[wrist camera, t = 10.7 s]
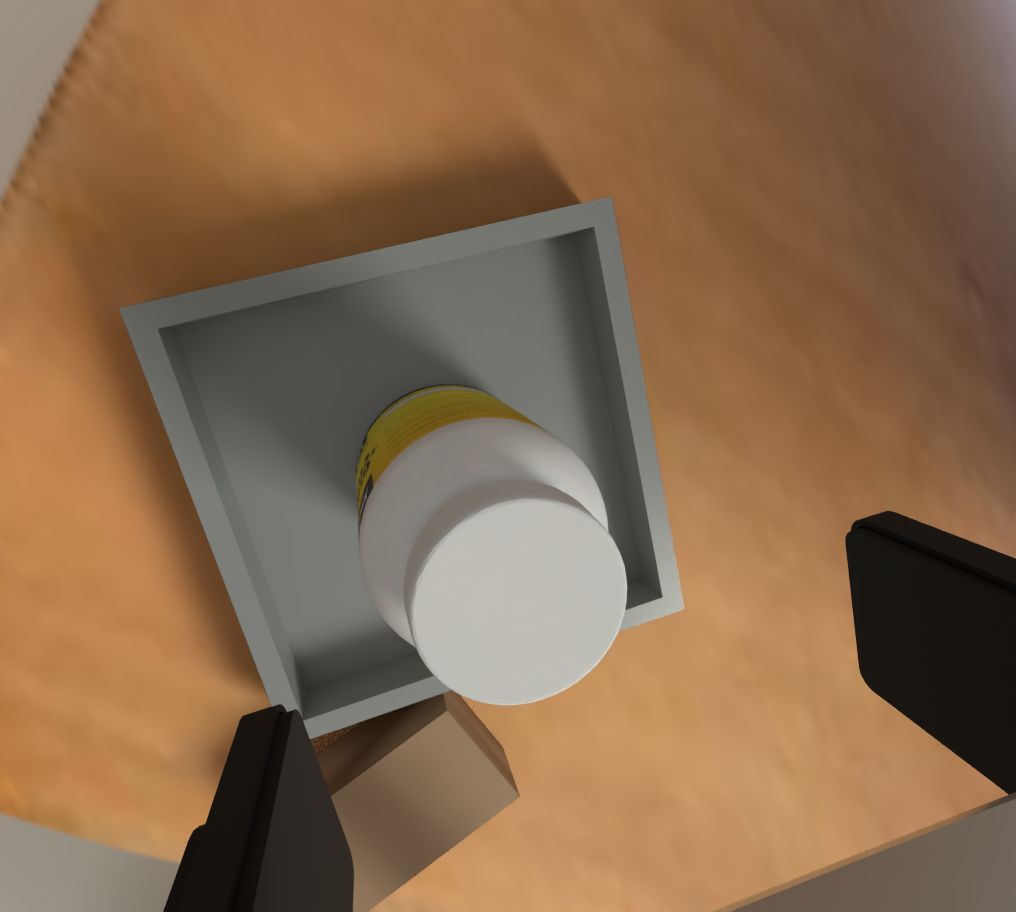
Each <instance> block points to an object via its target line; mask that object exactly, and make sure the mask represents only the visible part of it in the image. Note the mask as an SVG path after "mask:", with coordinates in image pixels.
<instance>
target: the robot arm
mask: <svg viewBox="0 0 1016 912" xmlns="http://www.w3.org/2000/svg"><path fill="white" fill-rule="evenodd" d="M846 552H847V561H848V570H849V579H850V588H851V598H852V607H853V616H854V625H855V634H856V643H857V652H858V661H859V669H860V673H861V675H862V678H863V679H864V681H865V683H866V684H867V685H868V687H869V688H870V689H871V690H872V691H873V692H875V693H876V694H877V695H879V696H880V697H881V698H883V699H884V700H885V701H887V702H888V703H889V704H891V705H892V706H893V707H895V708H896V709H897V710H898V711H900V712H901V713H902V714H904V715H905V716H906V717H908V718H909V719H910V720H912V721H913V722H914V723H916V724H917V725H918V726H920V727H921V728H922V729H923V730H925V731H926V732H927V733H929V734H930V735H931V736H933V737H934V738H935V739H937V740H938V741H939V742H941V743H942V744H943V745H945V746H946V747H947V748H948V749H950V750H951V751H952V752H954V753H955V754H956V755H958V756H959V757H960V758H962V759H963V760H964V761H966V762H967V763H968V764H970V765H971V766H972V767H974V768H975V769H976V770H977V771H979V772H980V773H981V774H983V775H984V776H985V777H987V778H988V779H989V780H991V781H992V782H993V783H995V784H996V785H997V786H999V787H1000V788H1001V789H1002V790H1004V791H1005V792H1006V793H1008V794H1009V795H1007V796H1005V797H1002V798H1000V799H997V800H995V801H992V802H989V803H987V804H984V805H982V806H979V807H976V808H974V809H971V810H969V811H966V812H964V813H961V814H958V815H956V816H953V817H951V818H948V819H946V820H943V821H940V822H938V823H935V824H933V825H930V826H928V827H925V828H923V829H920V830H918V831H915V832H912V833H910V834H907V835H905V836H902V837H900V838H897V839H895V840H892V841H890V842H887V843H885V844H882V845H879V846H877V847H874V848H872V849H869V850H867V851H864V852H862V853H859V854H857V855H854V856H852V857H849V858H846V859H844V860H841V861H839V862H836V863H834V864H831V865H829V866H826V867H824V868H821V869H819V870H816V871H814V872H811V873H809V874H806V875H804V876H801V877H799V878H796V879H793V880H791V881H788V882H786V883H783V884H781V885H778V886H776V887H773V888H771V889H768V890H766V891H763V892H761V893H758V894H756V895H753V896H751V897H748V898H746V899H743V900H741V901H738V902H736V903H733V904H731V905H728V906H725V907H723V908H720V909H718V910H715V911H713V912H1016V559H1015V558H1013V557H1010V556H1007V555H1005V554H1002V553H1000V552H997V551H994V550H992V549H989V548H986V547H984V546H981V545H979V544H976V543H973V542H971V541H968V540H966V539H963V538H960V537H958V536H955V535H953V534H950V533H947V532H945V531H942V530H940V529H937V528H934V527H932V526H929V525H927V524H924V523H921V522H919V521H916V520H913V519H911V518H908V517H906V516H903V515H900V514H898V513H895V512H892V511H885V512H882V513H879V514H875V515H872V516H869V517H866V518H863V519H860V520H857V521H855V522H854V523H853V525H852V528H851V531H850V532H849V533H848V534H847V535H846ZM353 895H354V866H353V860H352V855H351V851H350V848H349V845H348V842H347V839H346V837H345V834H344V831H343V828H342V826H341V823H340V820H339V818H338V815H337V812H336V809H335V807H334V804H333V801H332V798H331V796H330V793H329V790H328V787H327V785H326V782H325V779H324V776H323V774H322V771H321V768H320V766H319V763H318V760H317V757H316V755H315V752H314V749H313V746H312V744H311V741H310V738H309V735H308V733H307V730H306V727H305V725H304V722H303V719H302V717H301V714H300V713H299V711H298V710H297V709H295V710H291V711H288V712H287V711H286V709H285V707H284V706H283V705H281V704H278V705H275V706H272V707H269V708H266V709H263V710H260V711H256V712H253V713H250V714H247V715H244V716H242V718H241V719H240V722H239V725H238V728H237V731H236V734H235V737H234V740H233V743H232V746H231V749H230V752H229V755H228V758H227V761H226V764H225V767H224V770H223V773H222V776H221V779H220V782H219V785H218V788H217V791H216V794H215V797H214V800H213V803H212V806H211V809H210V812H209V815H208V818H207V821H206V824H204V825H201V826H199V827H198V828H196V829H195V830H194V831H193V833H192V835H191V836H190V838H189V841H188V843H187V846H186V849H185V852H184V855H183V857H182V860H181V863H180V866H179V869H178V872H177V874H176V877H175V880H174V883H173V886H172V889H171V891H170V894H169V897H168V900H167V903H166V905H165V908H164V911H163V912H353Z"/></svg>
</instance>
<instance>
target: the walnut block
mask: <svg viewBox="0 0 1016 912" xmlns="http://www.w3.org/2000/svg"><path fill="white" fill-rule="evenodd" d="M316 757H317V760H318V763H319V766H320V768H321V771H322V774H323V776H324V779H325V782H326V785H327V787H328V790H329V793H330V796H331V798H332V801H333V804H334V807H335V809H336V812H337V815H338V818H339V820H340V823H341V826H342V828H343V831H344V834H345V837H346V839H347V842H348V845H349V848H350V851H351V855H352V860H353V866H354V895H353V912H368V911H369V910H371V909H372V908H373V907H375V906H376V905H377V904H378V903H380V902H381V901H382V900H384V899H385V898H386V897H388V896H389V895H390V894H392V893H393V892H394V891H396V890H397V889H398V888H400V887H401V886H402V885H404V884H405V883H406V882H408V881H409V880H410V879H412V878H413V877H414V876H416V875H417V874H418V873H419V872H421V871H422V870H423V869H425V868H426V867H427V866H429V865H430V864H431V863H433V862H434V861H435V860H437V859H438V858H439V857H441V856H442V855H443V854H445V853H446V852H447V851H449V850H450V849H451V848H453V847H454V846H455V845H456V844H458V843H459V842H460V841H462V840H463V839H464V838H466V837H467V836H468V835H470V834H471V833H472V832H474V831H475V830H476V829H478V828H479V827H480V826H482V825H483V824H484V823H486V822H487V821H488V820H490V819H491V818H492V817H494V816H495V815H496V814H497V813H499V812H500V811H501V810H503V809H504V808H505V807H507V806H508V805H509V804H511V803H512V802H513V801H515V800H516V799H517V798H519V797H520V795H519V792H518V790H517V787H516V784H515V781H514V778H513V775H512V772H511V770H510V767H509V764H508V761H507V758H506V755H505V752H504V749H503V747H502V746H501V745H500V743H499V742H498V741H497V740H496V739H495V737H494V736H493V735H492V734H491V733H490V731H489V730H488V729H487V728H486V727H485V725H484V724H483V723H482V722H481V720H480V719H479V718H478V717H477V716H476V714H475V713H474V712H473V711H472V710H471V708H470V707H469V706H468V705H467V704H466V702H465V701H464V700H463V699H462V698H461V696H460V695H459V694H458V693H456V692H454V691H453V690H451V691H448V692H445V693H442V694H439V695H436V696H433V697H430V698H428V699H425V700H422V701H419V702H416V703H413V704H410V705H407V706H405V707H402V708H399V709H396V710H393V711H390V712H387V713H384V714H382V715H379V716H376V717H373V718H370V719H367V720H365V721H364V722H362V723H361V724H359V725H358V726H357V727H355V728H354V729H353V730H351V731H350V732H349V733H347V734H346V735H344V736H343V737H342V738H340V739H339V740H338V741H336V742H335V743H334V744H332V745H331V746H329V747H328V748H327V749H325V750H324V751H323V752H321V753H320V754H319V755H317V756H316Z"/></svg>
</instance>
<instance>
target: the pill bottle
mask: <svg viewBox="0 0 1016 912" xmlns="http://www.w3.org/2000/svg"><path fill="white" fill-rule="evenodd" d="M356 489H357V508H358V540H359V555H360V564H361V570H362V574H363V578H364V581H365V585H366V587H367V590H368V593H369V595H370V597H371V599H372V601H373V603H374V605H375V607H376V608H377V610H378V612H379V613H380V615H381V616H382V617H383V619H384V620H385V621H386V622H387V624H388V625H389V626H390V627H391V628H392V629H393V630H394V631H395V632H396V633H397V634H398V635H399V636H400V637H402V638H403V639H404V640H406V641H407V642H408V643H410V644H411V645H413V646H414V647H416V650H417V652H418V654H419V656H420V657H421V659H422V660H423V662H424V663H425V665H426V667H427V668H428V669H429V670H430V671H431V673H432V674H433V675H434V676H435V677H436V678H437V679H438V680H439V681H440V682H441V683H443V684H444V685H445V686H447V687H448V688H450V689H451V690H453V691H454V692H456V693H458V694H460V695H462V696H464V697H467V698H469V699H472V700H475V701H479V702H483V703H488V704H495V705H519V704H525V703H532V702H536V701H539V700H542V699H545V698H548V697H550V696H553V695H556V694H558V693H560V692H561V691H563V690H565V689H567V688H569V687H570V686H572V685H573V684H575V683H577V682H578V681H579V680H581V679H582V678H583V677H584V676H585V675H586V674H588V673H589V672H590V671H591V670H592V669H593V668H594V667H595V666H596V665H597V664H598V663H599V661H600V660H601V659H602V658H603V657H604V655H605V654H606V652H607V651H608V649H609V648H610V646H611V645H612V643H613V641H614V639H615V637H616V635H617V633H618V631H619V628H620V626H621V623H622V619H623V617H624V612H625V607H626V601H627V580H626V573H625V567H624V563H623V560H622V557H621V554H620V552H619V550H618V548H617V546H616V544H615V542H614V540H613V538H612V537H611V535H610V534H609V533H608V520H607V514H606V509H605V505H604V501H603V498H602V495H601V492H600V490H599V488H598V486H597V483H596V481H595V479H594V478H593V476H592V474H591V473H590V471H589V469H588V468H587V467H586V465H585V464H584V463H583V461H582V460H581V459H580V458H579V457H578V456H577V455H576V454H575V452H573V451H572V450H571V449H570V448H569V447H568V446H567V445H566V444H564V443H563V442H562V441H561V440H559V439H558V438H557V437H555V436H554V435H552V434H551V433H549V432H548V431H546V430H545V429H543V428H542V427H540V426H539V425H538V424H536V423H535V422H533V421H532V420H530V419H529V418H527V417H526V416H524V415H523V414H521V413H520V412H518V411H516V410H515V409H513V408H512V407H510V406H508V405H507V404H505V403H504V402H502V401H501V400H499V399H497V398H496V397H494V396H493V395H491V394H489V393H487V392H484V391H482V390H480V389H477V388H474V387H470V386H466V385H460V384H436V385H429V386H425V387H421V388H418V389H415V390H413V391H411V392H408V393H406V394H404V395H403V396H401V397H399V398H398V399H396V400H395V401H393V402H392V403H391V404H389V405H388V406H387V407H386V408H385V409H384V410H383V411H382V412H381V413H380V414H379V415H378V416H377V417H376V419H375V420H374V421H373V422H372V424H371V426H370V427H369V429H368V431H367V433H366V434H365V437H364V439H363V442H362V444H361V447H360V450H359V453H358V457H357V464H356Z"/></svg>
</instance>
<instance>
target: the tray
mask: <svg viewBox="0 0 1016 912" xmlns="http://www.w3.org/2000/svg"><path fill="white" fill-rule="evenodd" d="M119 310H120V312H121V315H122V318H123V320H124V323H125V325H126V328H127V331H128V333H129V336H130V338H131V341H132V344H133V346H134V349H135V351H136V354H137V357H138V359H139V362H140V365H141V367H142V370H143V372H144V375H145V378H146V380H147V383H148V385H149V388H150V391H151V393H152V396H153V398H154V401H155V404H156V406H157V409H158V411H159V414H160V417H161V419H162V422H163V424H164V427H165V430H166V432H167V435H168V437H169V440H170V443H171V445H172V448H173V450H174V453H175V456H176V458H177V461H178V464H179V466H180V469H181V471H182V474H183V477H184V479H185V482H186V484H187V487H188V490H189V492H190V495H191V497H192V500H193V503H194V505H195V508H196V510H197V513H198V516H199V518H200V521H201V523H202V526H203V529H204V531H205V534H206V536H207V539H208V542H209V544H210V547H211V549H212V552H213V555H214V557H215V560H216V563H217V565H218V568H219V570H220V573H221V576H222V578H223V581H224V583H225V586H226V589H227V591H228V594H229V596H230V599H231V602H232V604H233V607H234V609H235V612H236V615H237V617H238V620H239V622H240V625H241V628H242V630H243V633H244V635H245V638H246V641H247V643H248V646H249V648H250V651H251V654H252V656H253V659H254V662H255V664H256V667H257V669H258V672H259V675H260V677H261V680H262V682H263V685H264V688H265V690H266V693H267V695H268V698H269V701H270V703H271V706H275V705H278V704H281V705H283V706H284V707H285V709H286V711H287V712H288V711H291V710H295V709H297V710H298V711H299V713H300V714H301V717H302V719H303V722H304V725H305V727H306V730H307V733H308V735H309V738H310V739H313V738H316V737H318V736H321V735H324V734H327V733H330V732H333V731H336V730H339V729H341V728H344V727H347V726H350V725H353V724H356V723H359V722H362V721H364V720H367V719H370V718H373V717H376V716H379V715H382V714H384V713H387V712H390V711H393V710H396V709H399V708H402V707H405V706H407V705H410V704H413V703H416V702H419V701H422V700H425V699H428V698H430V697H433V696H436V695H439V694H442V693H445V692H448V691H451V689H450V688H448V687H447V686H445V685H444V684H443V683H441V682H440V681H439V680H438V679H437V678H436V677H435V676H434V675H433V674H432V673H431V671H430V670H429V669H428V668H427V667H426V665H425V663H424V662H423V660H422V659H421V657H420V656H419V654H418V652H417V650H416V647H414V646H413V645H411V644H410V643H408V642H407V641H406V640H404V639H403V638H402V637H400V636H399V635H398V634H397V633H396V632H395V631H394V630H393V629H392V628H391V627H390V626H389V625H388V624H387V622H386V621H385V620H384V619H383V617H382V616H381V615H380V613H379V612H378V610H377V608H376V607H375V605H374V603H373V601H372V599H371V597H370V595H369V593H368V590H367V587H366V585H365V581H364V578H363V574H362V570H361V564H360V555H359V540H358V508H357V489H356V464H357V457H358V453H359V450H360V447H361V444H362V442H363V439H364V437H365V434H366V433H367V431H368V429H369V427H370V426H371V424H372V422H373V421H374V420H375V419H376V417H377V416H378V415H379V414H380V413H381V412H382V411H383V410H384V409H385V408H386V407H387V406H388V405H389V404H391V403H392V402H393V401H395V400H396V399H398V398H399V397H401V396H403V395H404V394H406V393H408V392H411V391H413V390H415V389H418V388H421V387H425V386H429V385H436V384H460V385H466V386H470V387H474V388H477V389H480V390H482V391H484V392H487V393H489V394H491V395H493V396H494V397H496V398H497V399H499V400H501V401H502V402H504V403H505V404H507V405H508V406H510V407H512V408H513V409H515V410H516V411H518V412H520V413H521V414H523V415H524V416H526V417H527V418H529V419H530V420H532V421H533V422H535V423H536V424H538V425H539V426H540V427H542V428H543V429H545V430H546V431H548V432H549V433H551V434H552V435H554V436H555V437H557V438H558V439H559V440H561V441H562V442H563V443H564V444H566V445H567V446H568V447H569V448H570V449H571V450H572V451H573V452H575V454H576V455H577V456H578V457H579V458H580V459H581V460H582V461H583V463H584V464H585V465H586V467H587V468H588V469H589V471H590V473H591V474H592V476H593V478H594V479H595V481H596V483H597V486H598V488H599V490H600V492H601V495H602V498H603V501H604V505H605V509H606V514H607V520H608V533H609V534H610V535H611V537H612V538H613V540H614V542H615V544H616V546H617V548H618V550H619V552H620V554H621V557H622V560H623V563H624V567H625V573H626V580H627V601H626V607H625V612H624V617H623V619H622V623H621V626H620V628H619V631H618V632H620V631H623V630H626V629H629V628H631V627H634V626H637V625H640V624H643V623H646V622H649V621H652V620H654V619H657V618H660V617H663V616H666V615H669V614H672V613H675V612H677V611H680V610H683V609H684V604H683V598H682V592H681V587H680V581H679V575H678V569H677V564H676V558H675V552H674V547H673V541H672V535H671V530H670V524H669V518H668V513H667V507H666V501H665V496H664V490H663V484H662V479H661V473H660V467H659V462H658V456H657V450H656V444H655V439H654V433H653V427H652V422H651V416H650V410H649V405H648V399H647V393H646V388H645V382H644V376H643V371H642V365H641V359H640V354H639V348H638V342H637V337H636V331H635V325H634V319H633V314H632V308H631V302H630V297H629V291H628V285H627V280H626V274H625V268H624V263H623V257H622V251H621V246H620V240H619V234H618V229H617V223H616V217H615V212H614V206H613V200H612V196H611V197H607V198H603V199H598V200H594V201H589V202H585V203H581V204H576V205H572V206H567V207H563V208H559V209H554V210H550V211H545V212H541V213H536V214H532V215H528V216H523V217H519V218H514V219H510V220H506V221H501V222H497V223H492V224H488V225H484V226H479V227H475V228H470V229H466V230H462V231H457V232H453V233H448V234H444V235H440V236H435V237H431V238H426V239H422V240H417V241H413V242H409V243H404V244H400V245H395V246H391V247H387V248H382V249H378V250H373V251H369V252H365V253H360V254H356V255H351V256H347V257H343V258H338V259H334V260H329V261H325V262H320V263H316V264H312V265H307V266H303V267H298V268H294V269H290V270H285V271H281V272H276V273H272V274H268V275H263V276H259V277H254V278H250V279H246V280H241V281H237V282H232V283H228V284H224V285H219V286H215V287H210V288H206V289H201V290H197V291H193V292H188V293H184V294H179V295H175V296H171V297H166V298H162V299H157V300H153V301H149V302H144V303H140V304H135V305H131V306H127V307H122V308H119Z"/></svg>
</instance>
